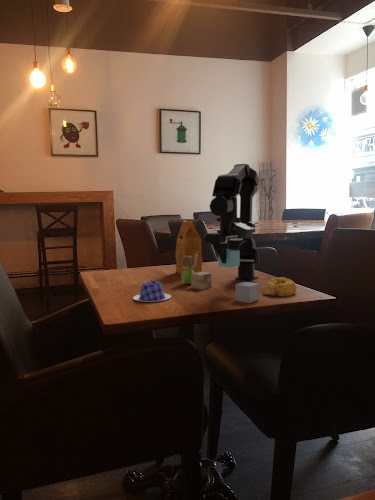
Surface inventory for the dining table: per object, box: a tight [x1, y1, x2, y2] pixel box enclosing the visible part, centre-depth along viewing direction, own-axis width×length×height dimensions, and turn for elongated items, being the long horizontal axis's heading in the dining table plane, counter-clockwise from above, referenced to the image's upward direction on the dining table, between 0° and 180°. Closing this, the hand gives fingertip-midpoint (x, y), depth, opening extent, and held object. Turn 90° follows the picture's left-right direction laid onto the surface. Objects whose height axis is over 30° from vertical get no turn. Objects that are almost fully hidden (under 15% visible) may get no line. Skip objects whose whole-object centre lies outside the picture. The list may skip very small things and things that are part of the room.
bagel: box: [263, 276, 298, 297], centre depth 133 cm, size 10×11×5 cm
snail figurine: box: [180, 251, 198, 285], centre depth 150 cm, size 5×6×12 cm
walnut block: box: [190, 271, 213, 290], centre depth 144 cm, size 5×5×5 cm
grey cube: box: [234, 281, 260, 304], centre depth 125 cm, size 5×5×5 cm
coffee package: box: [175, 219, 203, 276], centre depth 171 cm, size 10×12×22 cm
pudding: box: [132, 280, 172, 303], centre depth 130 cm, size 12×12×5 cm
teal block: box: [217, 248, 241, 268], centre depth 135 cm, size 5×5×5 cm
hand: (228, 262), depth 135 cm, fingers closed on teal block, 5 cm apart
